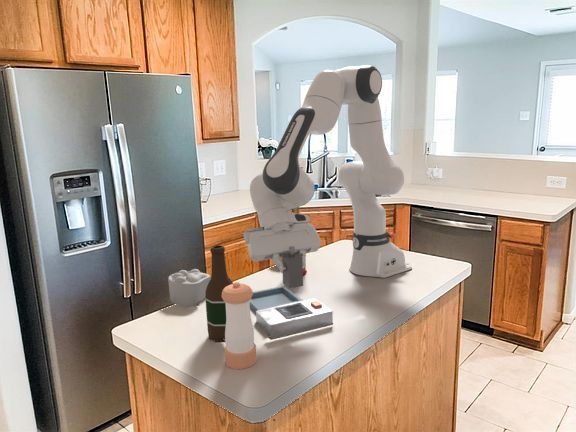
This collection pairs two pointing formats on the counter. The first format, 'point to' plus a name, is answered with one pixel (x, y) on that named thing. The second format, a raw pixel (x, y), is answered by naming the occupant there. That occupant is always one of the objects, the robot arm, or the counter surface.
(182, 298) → the lumpy-topped squat cylinder
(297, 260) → the plug
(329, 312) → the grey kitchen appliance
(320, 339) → the counter surface
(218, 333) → the beer bottle
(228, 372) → the counter surface
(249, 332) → the pepper shaker
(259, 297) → the tray
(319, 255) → the counter surface
